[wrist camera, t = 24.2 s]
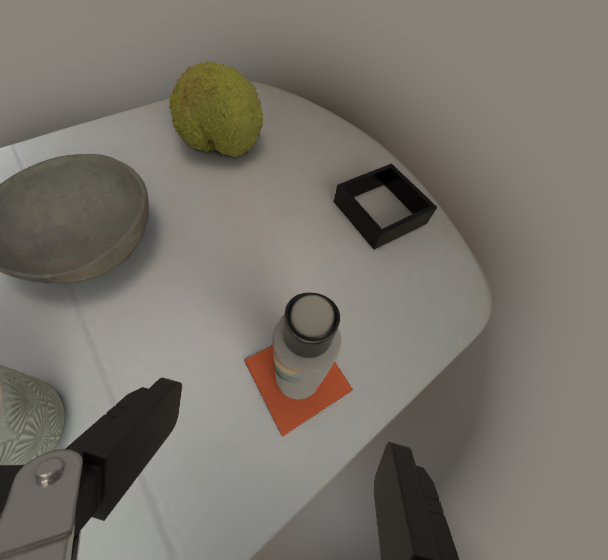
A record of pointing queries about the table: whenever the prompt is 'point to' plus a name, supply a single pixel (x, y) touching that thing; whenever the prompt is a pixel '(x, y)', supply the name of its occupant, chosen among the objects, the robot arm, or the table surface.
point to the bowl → (70, 218)
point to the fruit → (216, 109)
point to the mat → (288, 409)
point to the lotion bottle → (305, 344)
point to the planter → (27, 417)
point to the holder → (399, 188)
